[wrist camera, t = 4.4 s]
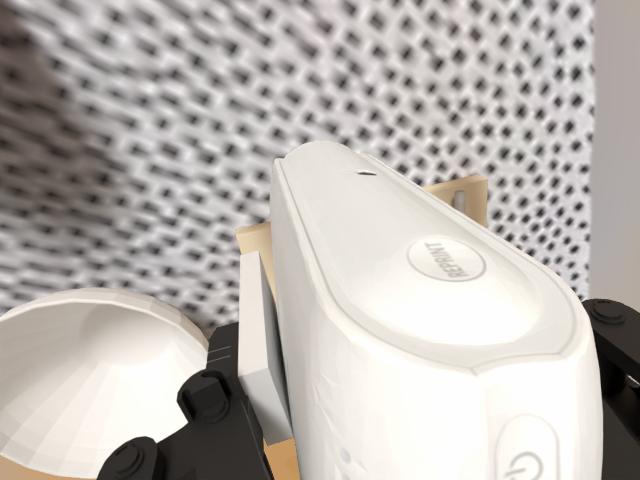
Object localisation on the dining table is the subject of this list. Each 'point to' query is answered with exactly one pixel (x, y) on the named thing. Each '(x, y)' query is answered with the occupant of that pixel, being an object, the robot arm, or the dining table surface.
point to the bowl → (91, 376)
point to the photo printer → (422, 335)
